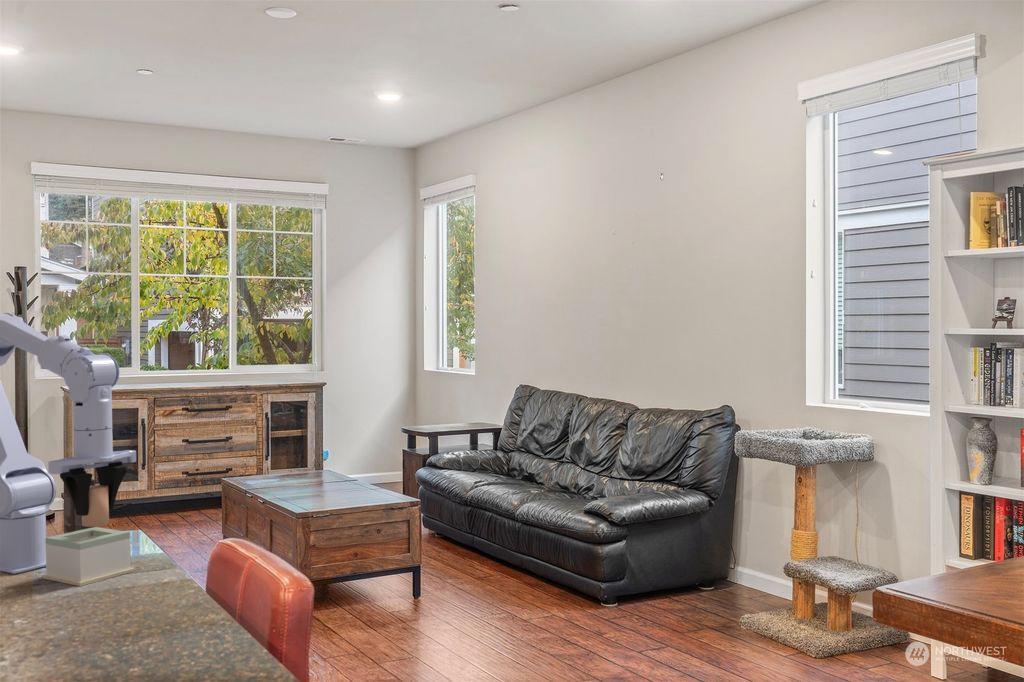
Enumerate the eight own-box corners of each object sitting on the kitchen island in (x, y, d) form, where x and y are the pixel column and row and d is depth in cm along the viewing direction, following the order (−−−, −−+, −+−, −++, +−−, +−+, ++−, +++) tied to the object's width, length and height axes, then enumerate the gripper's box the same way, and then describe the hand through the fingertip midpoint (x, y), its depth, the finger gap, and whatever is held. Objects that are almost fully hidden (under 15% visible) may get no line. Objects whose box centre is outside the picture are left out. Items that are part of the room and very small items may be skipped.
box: (97, 542, 176) (95, 478, 176) (71, 546, 173) (70, 481, 173) (88, 537, 181) (86, 475, 181) (63, 541, 178) (61, 478, 178)
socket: (41, 578, 151) (40, 538, 151) (97, 564, 160) (96, 526, 160) (79, 586, 146) (78, 544, 146) (135, 571, 155) (134, 531, 155)
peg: (76, 525, 152) (75, 488, 152) (98, 520, 155) (97, 484, 155) (92, 527, 150) (91, 490, 150) (114, 522, 153) (113, 486, 153)
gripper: (66, 435, 144) (68, 523, 144) (147, 425, 156) (149, 506, 156) (39, 432, 147) (41, 518, 148) (120, 423, 160) (122, 502, 160)
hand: (95, 512), depth 152 cm, fingers closed on peg, 4 cm apart
